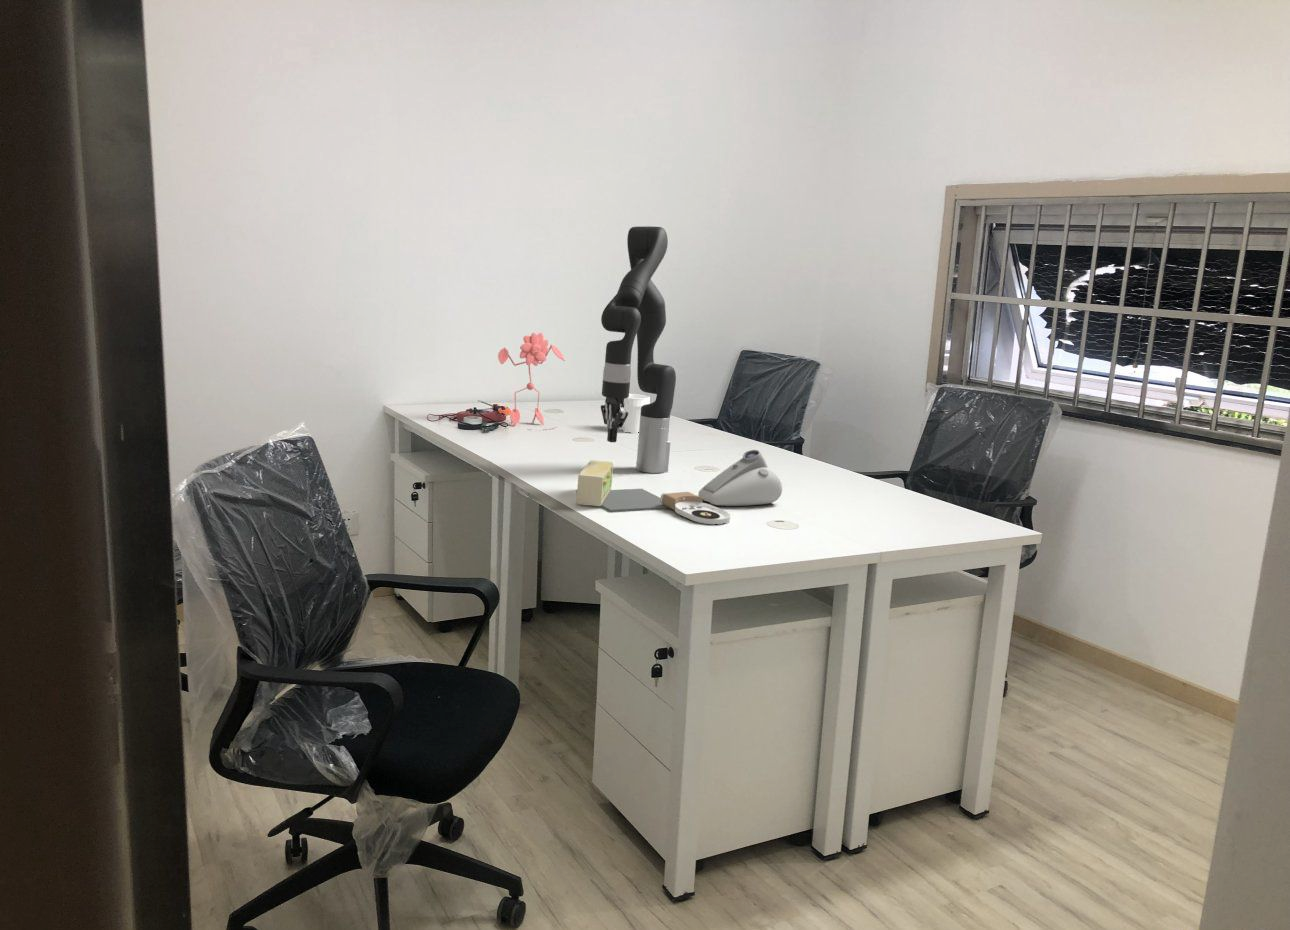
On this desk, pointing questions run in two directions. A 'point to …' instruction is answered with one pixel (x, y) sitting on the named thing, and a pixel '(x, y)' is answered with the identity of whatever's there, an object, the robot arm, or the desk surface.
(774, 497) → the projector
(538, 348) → the figurine
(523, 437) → the desk surface
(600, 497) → the toy refrigerator
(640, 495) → the mat
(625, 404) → the cup
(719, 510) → the record player
